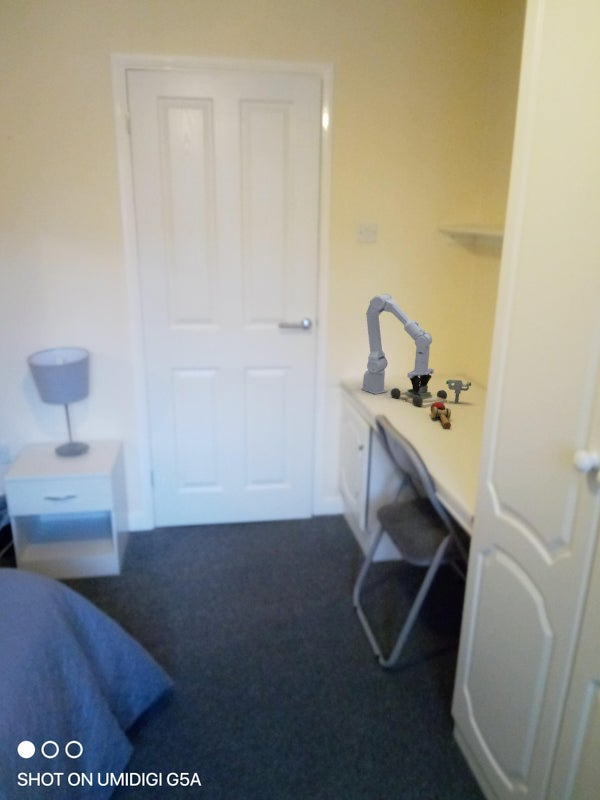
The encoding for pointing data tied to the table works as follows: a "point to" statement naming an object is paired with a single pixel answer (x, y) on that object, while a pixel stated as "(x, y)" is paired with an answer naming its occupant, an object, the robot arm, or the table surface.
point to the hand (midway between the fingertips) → (419, 391)
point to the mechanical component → (457, 387)
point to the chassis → (419, 397)
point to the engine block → (421, 389)
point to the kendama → (441, 413)
